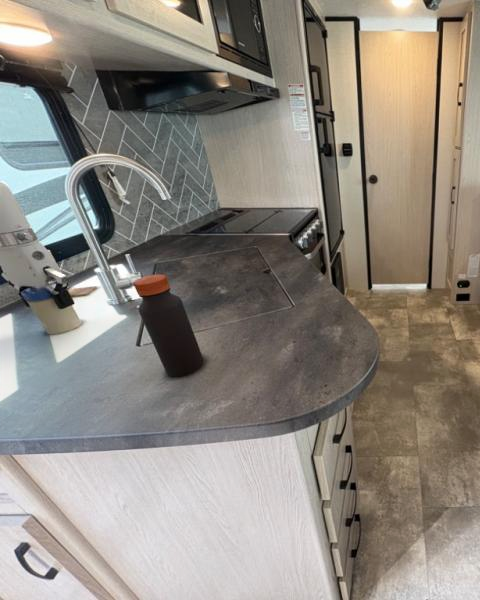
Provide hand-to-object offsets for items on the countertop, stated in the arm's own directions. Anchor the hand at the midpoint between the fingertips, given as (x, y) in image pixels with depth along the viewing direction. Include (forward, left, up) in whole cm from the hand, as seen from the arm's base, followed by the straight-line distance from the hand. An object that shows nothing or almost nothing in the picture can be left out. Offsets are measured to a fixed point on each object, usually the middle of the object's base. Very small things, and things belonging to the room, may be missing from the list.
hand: (51, 305), depth 78 cm
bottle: (+36, -28, -7) cm, 46 cm away
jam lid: (0, 0, +4) cm, 4 cm away
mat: (-9, +25, -6) cm, 27 cm away
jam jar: (0, 0, -6) cm, 6 cm away
